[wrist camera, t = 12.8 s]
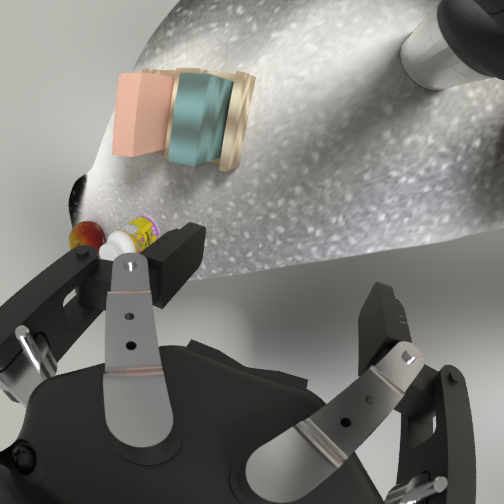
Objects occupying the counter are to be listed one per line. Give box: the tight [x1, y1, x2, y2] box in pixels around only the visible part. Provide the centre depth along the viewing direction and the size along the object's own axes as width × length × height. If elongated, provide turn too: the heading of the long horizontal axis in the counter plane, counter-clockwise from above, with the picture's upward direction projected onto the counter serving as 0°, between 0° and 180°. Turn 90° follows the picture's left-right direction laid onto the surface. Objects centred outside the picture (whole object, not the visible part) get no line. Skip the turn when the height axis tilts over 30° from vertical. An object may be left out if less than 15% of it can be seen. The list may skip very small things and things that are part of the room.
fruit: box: [69, 221, 105, 257], centre depth 56 cm, size 10×9×8 cm
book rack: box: [142, 68, 256, 172], centre depth 36 cm, size 15×18×12 cm
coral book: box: [112, 72, 175, 158], centre depth 36 cm, size 12×4×11 cm, turn 170°
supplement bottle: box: [99, 215, 160, 261], centre depth 48 cm, size 7×7×13 cm
